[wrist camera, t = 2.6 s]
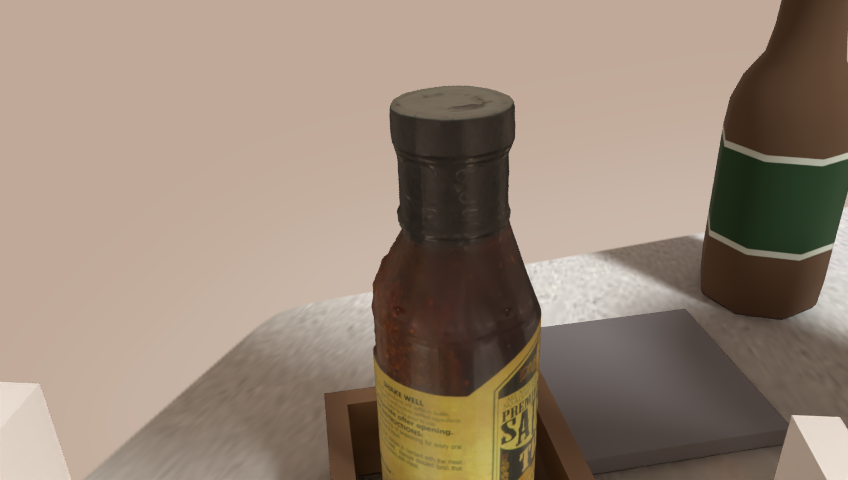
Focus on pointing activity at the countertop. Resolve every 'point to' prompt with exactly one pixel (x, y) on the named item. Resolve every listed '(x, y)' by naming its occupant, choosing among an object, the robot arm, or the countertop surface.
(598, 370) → the rubber mat
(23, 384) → the robot arm
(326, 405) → the collar
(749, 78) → the beer bottle
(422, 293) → the sauce bottle
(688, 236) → the countertop surface
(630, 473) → the countertop surface
